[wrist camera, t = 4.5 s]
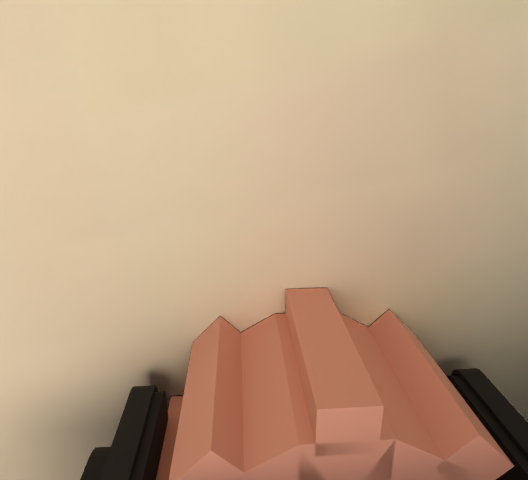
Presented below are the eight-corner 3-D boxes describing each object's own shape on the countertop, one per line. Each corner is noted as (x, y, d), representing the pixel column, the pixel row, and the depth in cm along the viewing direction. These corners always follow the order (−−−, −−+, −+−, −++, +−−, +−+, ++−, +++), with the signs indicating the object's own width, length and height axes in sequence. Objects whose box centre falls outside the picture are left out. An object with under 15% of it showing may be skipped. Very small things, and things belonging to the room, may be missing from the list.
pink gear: (160, 293, 10) (112, 420, 6) (446, 283, 10) (573, 395, 6) (181, 507, 12) (157, 698, 8) (414, 492, 12) (492, 666, 9)
